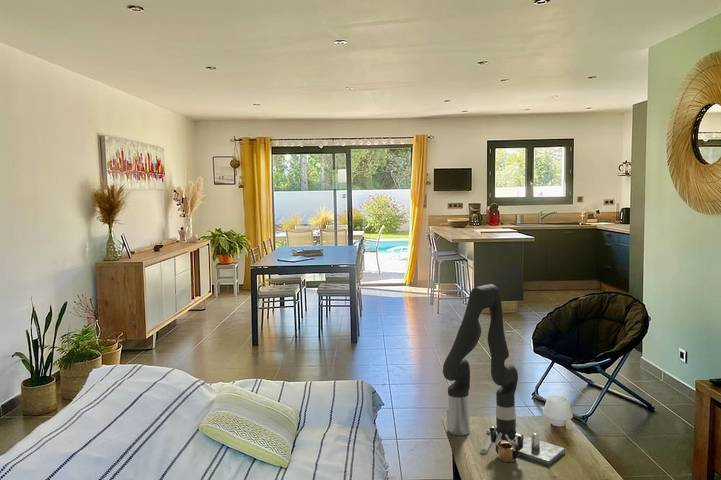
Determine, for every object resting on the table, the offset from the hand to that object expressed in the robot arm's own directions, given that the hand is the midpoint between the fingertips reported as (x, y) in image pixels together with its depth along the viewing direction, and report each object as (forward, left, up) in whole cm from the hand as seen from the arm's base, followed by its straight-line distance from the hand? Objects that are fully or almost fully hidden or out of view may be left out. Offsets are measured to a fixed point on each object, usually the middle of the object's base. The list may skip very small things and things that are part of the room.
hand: (506, 456), depth 211 cm
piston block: (+6, +12, -1) cm, 13 cm away
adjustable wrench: (-14, +9, -2) cm, 17 cm away
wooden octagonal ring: (0, 0, -1) cm, 1 cm away
